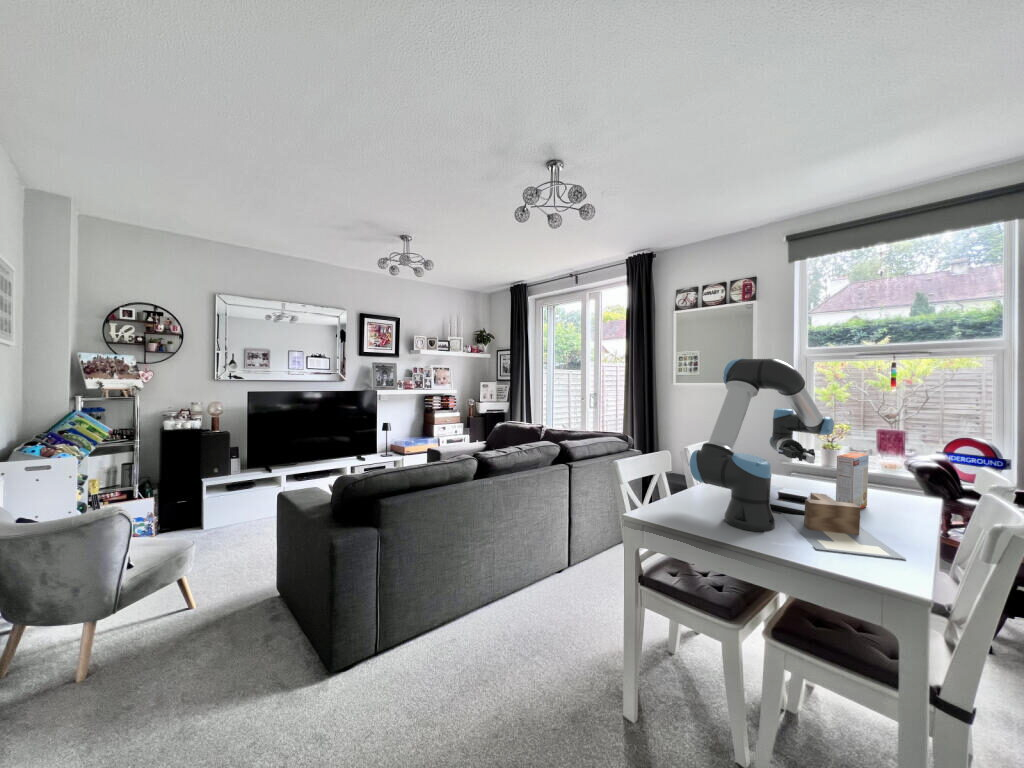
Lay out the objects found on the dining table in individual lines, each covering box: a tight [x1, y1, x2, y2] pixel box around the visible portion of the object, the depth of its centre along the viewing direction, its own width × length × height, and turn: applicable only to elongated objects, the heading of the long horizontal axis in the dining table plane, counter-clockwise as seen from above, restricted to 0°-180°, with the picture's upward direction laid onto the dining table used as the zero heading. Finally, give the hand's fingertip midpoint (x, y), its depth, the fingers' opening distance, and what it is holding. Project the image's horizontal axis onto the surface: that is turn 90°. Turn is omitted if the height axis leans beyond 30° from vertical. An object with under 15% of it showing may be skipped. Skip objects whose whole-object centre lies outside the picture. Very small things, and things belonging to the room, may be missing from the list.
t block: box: [803, 492, 861, 535], centre depth 146 cm, size 14×14×9 cm
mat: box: [780, 513, 906, 560], centre depth 139 cm, size 22×32×1 cm
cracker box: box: [835, 451, 869, 510], centre depth 166 cm, size 14×6×21 cm, turn 122°
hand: (812, 459), depth 158 cm, fingers closed
